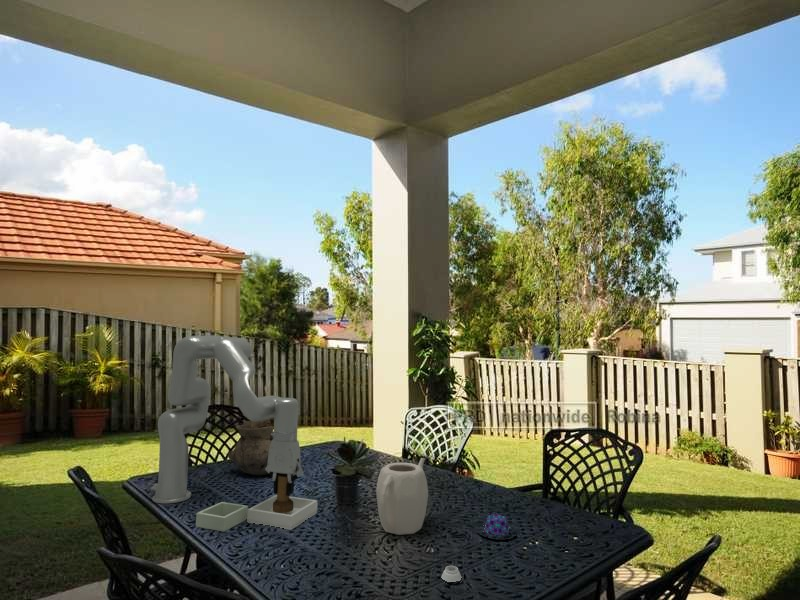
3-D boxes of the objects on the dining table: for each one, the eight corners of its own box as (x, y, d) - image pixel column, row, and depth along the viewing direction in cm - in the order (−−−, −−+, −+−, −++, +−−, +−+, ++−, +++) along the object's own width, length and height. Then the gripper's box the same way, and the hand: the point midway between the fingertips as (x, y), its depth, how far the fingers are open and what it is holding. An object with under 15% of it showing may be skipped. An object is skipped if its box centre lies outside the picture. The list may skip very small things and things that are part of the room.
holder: (195, 526, 154) (196, 513, 154) (221, 514, 165) (221, 501, 165) (223, 531, 150) (224, 517, 150) (247, 518, 161) (248, 505, 161)
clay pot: (221, 471, 215) (223, 420, 217) (271, 462, 231) (272, 415, 233) (247, 485, 197) (249, 429, 198) (300, 474, 213) (301, 423, 214)
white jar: (460, 587, 120) (463, 577, 124) (460, 574, 120) (463, 565, 125) (439, 584, 121) (443, 574, 126) (439, 571, 121) (443, 562, 126)
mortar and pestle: (287, 514, 159) (289, 456, 160) (269, 512, 160) (270, 455, 161) (296, 507, 165) (297, 451, 167) (278, 505, 167) (279, 450, 168)
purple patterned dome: (477, 541, 147) (477, 523, 147) (475, 526, 159) (475, 509, 159) (519, 544, 146) (519, 525, 146) (514, 528, 157) (514, 511, 158)
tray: (247, 522, 158) (247, 509, 158) (276, 506, 173) (276, 494, 173) (291, 529, 152) (291, 516, 153) (317, 512, 167) (317, 500, 168)
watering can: (444, 519, 163) (445, 460, 165) (404, 548, 140) (405, 479, 142) (403, 510, 171) (403, 453, 172) (358, 536, 148) (359, 471, 149)
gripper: (257, 436, 164) (254, 493, 162) (301, 440, 158) (299, 500, 157) (270, 432, 171) (268, 487, 170) (313, 436, 165) (311, 493, 164)
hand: (283, 492), depth 163 cm, fingers closed on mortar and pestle, 4 cm apart
